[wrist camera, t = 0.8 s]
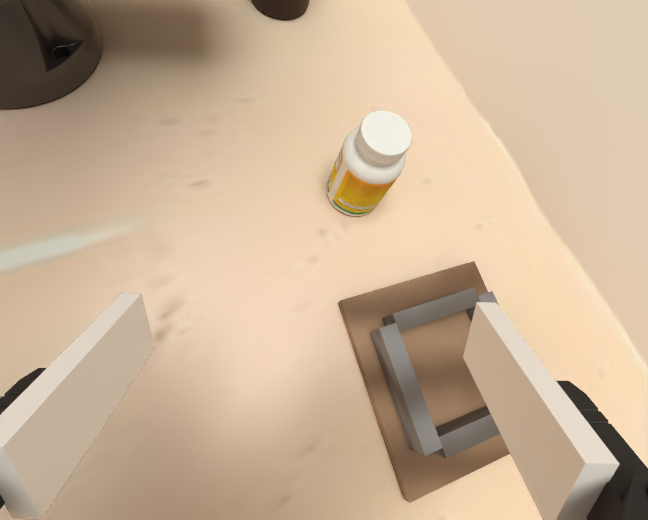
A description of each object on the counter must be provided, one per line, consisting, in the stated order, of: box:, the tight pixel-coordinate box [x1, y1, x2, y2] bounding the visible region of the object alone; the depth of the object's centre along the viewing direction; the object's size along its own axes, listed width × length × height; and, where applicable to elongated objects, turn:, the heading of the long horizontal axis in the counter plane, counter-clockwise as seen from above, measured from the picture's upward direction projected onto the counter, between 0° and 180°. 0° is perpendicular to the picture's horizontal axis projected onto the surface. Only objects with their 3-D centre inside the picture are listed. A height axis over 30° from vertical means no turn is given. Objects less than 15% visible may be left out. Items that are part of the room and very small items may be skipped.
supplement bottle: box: [327, 110, 412, 216], centre depth 31 cm, size 5×5×10 cm
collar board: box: [338, 261, 510, 503], centre depth 30 cm, size 16×14×4 cm
